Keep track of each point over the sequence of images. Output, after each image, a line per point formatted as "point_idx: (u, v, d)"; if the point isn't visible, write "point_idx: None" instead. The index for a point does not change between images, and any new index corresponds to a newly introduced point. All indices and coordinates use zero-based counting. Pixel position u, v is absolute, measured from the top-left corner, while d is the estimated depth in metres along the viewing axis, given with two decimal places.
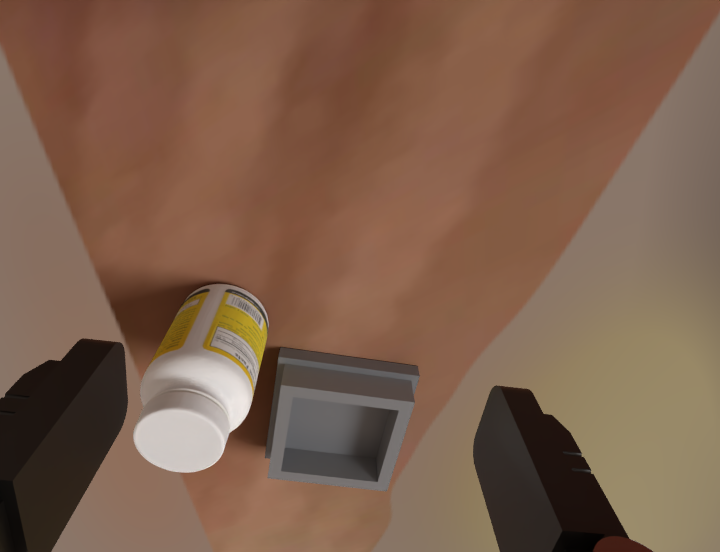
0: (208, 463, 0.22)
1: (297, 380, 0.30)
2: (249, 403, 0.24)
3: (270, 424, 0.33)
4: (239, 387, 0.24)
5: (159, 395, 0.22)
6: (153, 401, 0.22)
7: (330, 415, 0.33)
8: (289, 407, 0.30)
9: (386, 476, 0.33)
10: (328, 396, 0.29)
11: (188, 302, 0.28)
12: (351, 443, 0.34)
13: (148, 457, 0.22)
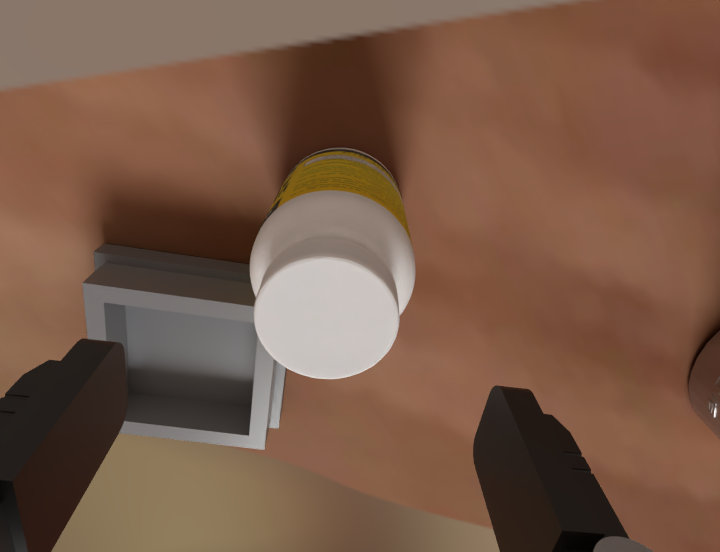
0: (280, 357, 0.14)
1: None
2: None
3: (168, 264, 0.22)
4: None
5: (390, 274, 0.14)
6: (387, 273, 0.14)
7: (199, 339, 0.24)
8: (238, 318, 0.21)
9: (126, 428, 0.24)
10: (263, 363, 0.22)
11: (394, 184, 0.20)
12: (151, 364, 0.25)
13: (289, 273, 0.13)
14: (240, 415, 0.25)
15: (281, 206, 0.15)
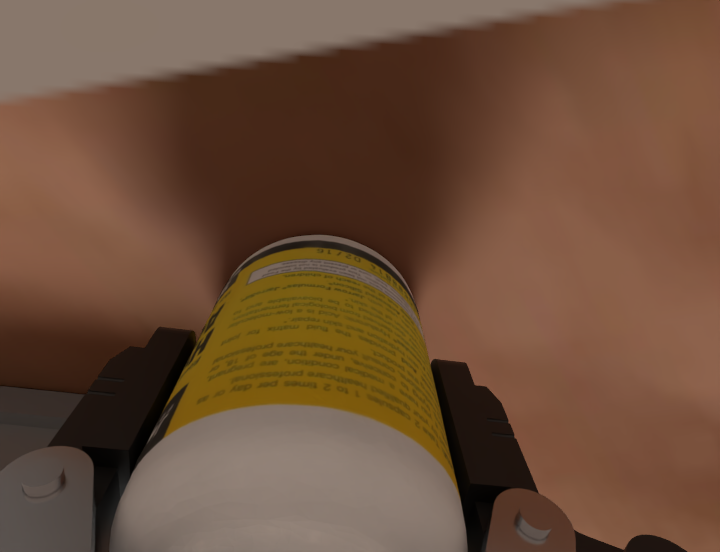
0: None
1: None
2: None
3: (41, 417, 0.14)
4: None
5: None
6: None
7: None
8: None
9: None
10: None
11: (408, 302, 0.11)
12: None
13: None
14: None
15: (171, 438, 0.07)
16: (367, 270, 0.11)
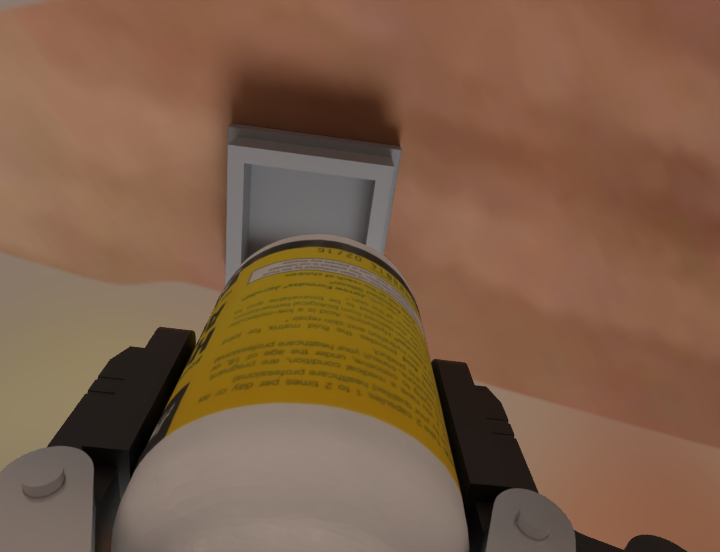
0: None
1: None
2: None
3: (291, 136, 0.25)
4: None
5: None
6: None
7: (313, 210, 0.27)
8: (358, 176, 0.24)
9: None
10: (377, 220, 0.25)
11: (409, 301, 0.11)
12: (269, 236, 0.28)
13: None
14: None
15: (172, 437, 0.07)
16: (368, 269, 0.11)
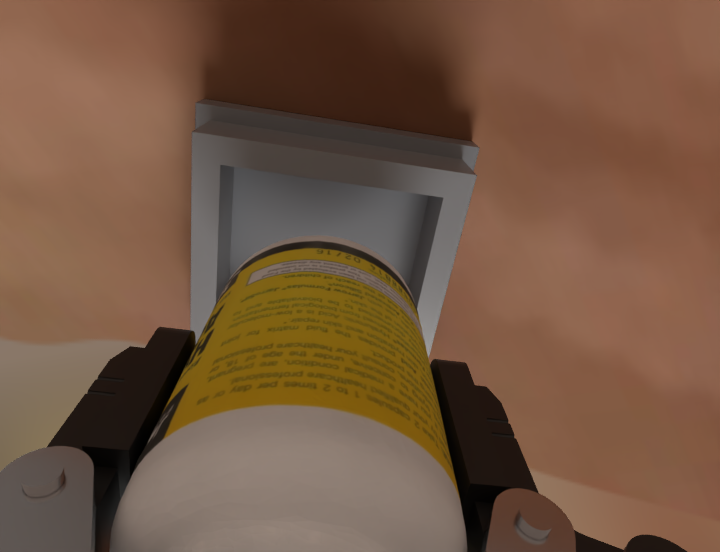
0: None
1: None
2: None
3: (301, 122, 0.15)
4: None
5: None
6: None
7: None
8: (415, 190, 0.14)
9: None
10: (440, 262, 0.15)
11: (408, 303, 0.11)
12: None
13: None
14: None
15: (171, 439, 0.07)
16: (367, 271, 0.11)
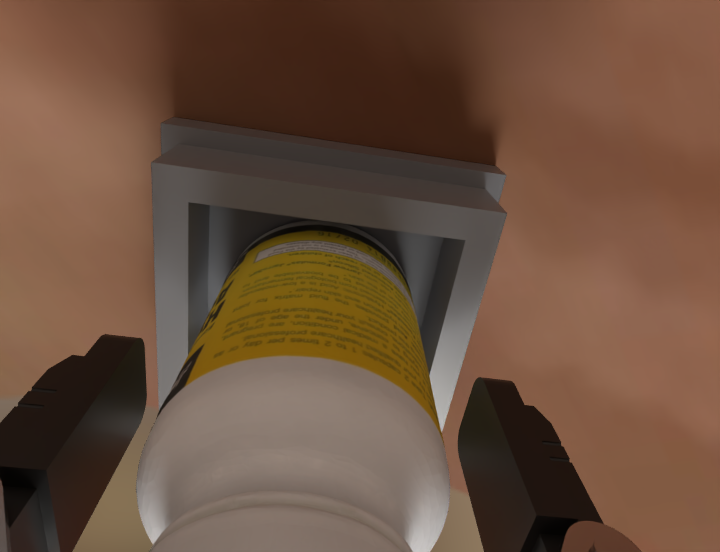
0: None
1: None
2: None
3: (290, 145, 0.13)
4: None
5: None
6: None
7: None
8: (431, 231, 0.12)
9: None
10: (459, 316, 0.13)
11: (401, 282, 0.12)
12: None
13: None
14: None
15: (192, 385, 0.08)
16: (364, 251, 0.12)
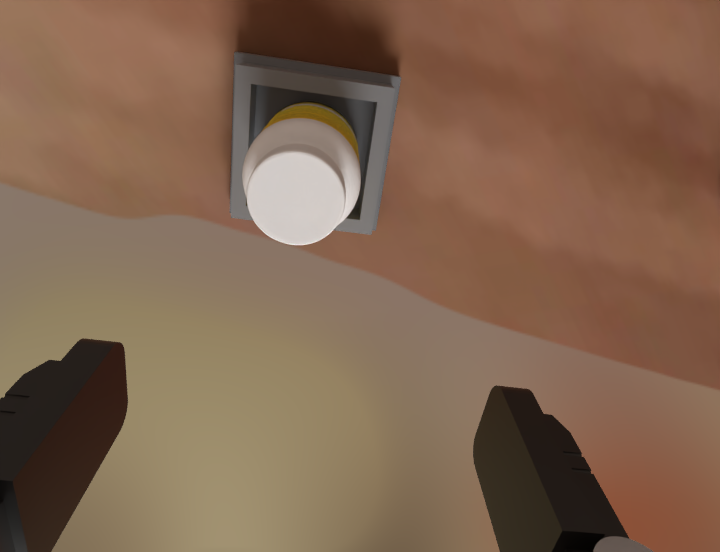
0: (265, 227, 0.20)
1: None
2: None
3: (295, 62, 0.26)
4: None
5: (339, 170, 0.20)
6: (337, 167, 0.20)
7: None
8: (361, 97, 0.25)
9: None
10: (378, 143, 0.27)
11: (349, 126, 0.26)
12: None
13: (270, 163, 0.19)
14: None
15: (264, 130, 0.22)
16: (331, 109, 0.26)
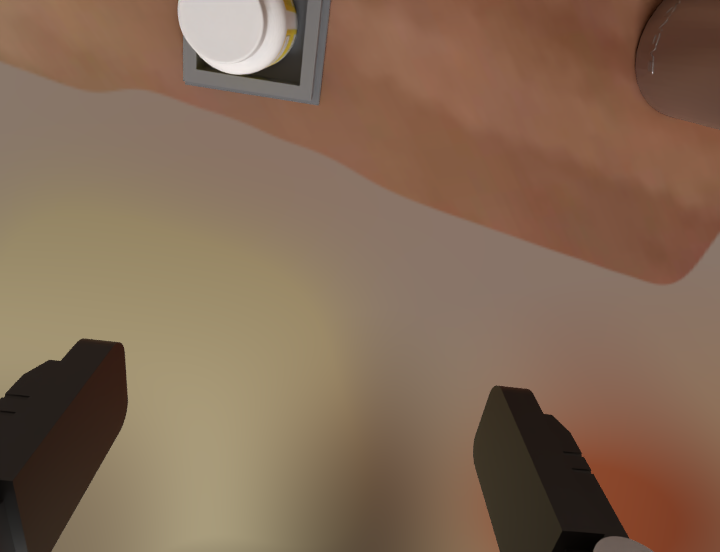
0: (195, 45, 0.23)
1: None
2: (233, 73, 0.26)
3: None
4: (255, 68, 0.26)
5: None
6: None
7: None
8: None
9: (206, 79, 0.31)
10: (313, 9, 0.30)
11: None
12: None
13: None
14: (290, 82, 0.33)
15: None
16: None
